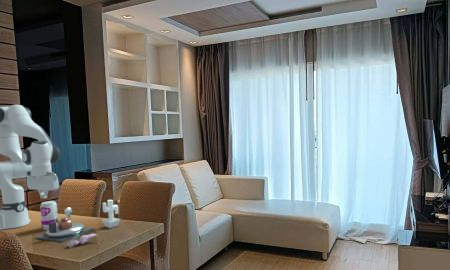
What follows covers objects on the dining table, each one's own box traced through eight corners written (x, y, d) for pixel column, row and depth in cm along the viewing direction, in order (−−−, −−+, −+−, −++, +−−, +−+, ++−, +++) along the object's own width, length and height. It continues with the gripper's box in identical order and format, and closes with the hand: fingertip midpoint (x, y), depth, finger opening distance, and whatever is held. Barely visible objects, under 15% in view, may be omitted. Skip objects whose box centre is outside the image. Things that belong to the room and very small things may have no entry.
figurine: (122, 224, 188) (121, 198, 188) (108, 229, 181) (107, 202, 180) (114, 223, 192) (112, 197, 192) (100, 227, 185) (98, 201, 184)
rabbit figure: (67, 252, 152) (99, 239, 161) (63, 240, 152) (96, 228, 160) (64, 249, 157) (96, 236, 166) (61, 237, 157) (93, 225, 165)
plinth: (35, 238, 172) (35, 236, 172) (68, 226, 190) (68, 225, 190) (62, 242, 163) (62, 240, 163) (94, 229, 181) (94, 228, 181)
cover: (54, 229, 174) (54, 219, 174) (66, 225, 181) (65, 216, 181) (64, 230, 171) (63, 220, 171) (75, 226, 178) (74, 217, 178)
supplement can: (51, 230, 184) (49, 204, 184) (38, 230, 186) (36, 204, 186) (61, 226, 192) (59, 200, 192) (48, 225, 194) (47, 200, 193)
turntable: (38, 235, 172) (37, 222, 172) (68, 225, 188) (67, 213, 188) (62, 238, 165) (61, 224, 164) (91, 227, 181) (90, 215, 181)
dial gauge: (62, 227, 185) (61, 208, 185) (70, 224, 190) (69, 206, 190) (68, 228, 183) (67, 209, 183) (76, 225, 188) (75, 206, 188)
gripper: (61, 171, 170) (63, 197, 171) (35, 170, 179) (36, 196, 179) (50, 172, 165) (52, 200, 165) (23, 172, 173) (25, 198, 174)
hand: (43, 198), depth 172 cm, fingers closed
